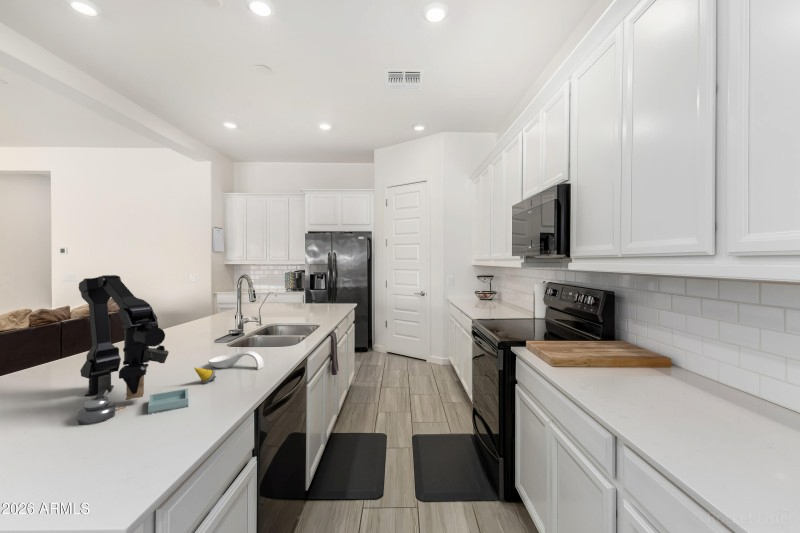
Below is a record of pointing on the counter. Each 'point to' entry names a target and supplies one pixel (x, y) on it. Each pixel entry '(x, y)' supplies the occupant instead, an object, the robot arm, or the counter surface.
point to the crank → (100, 394)
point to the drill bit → (206, 375)
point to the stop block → (139, 391)
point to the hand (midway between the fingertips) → (135, 391)
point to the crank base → (96, 415)
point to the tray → (168, 401)
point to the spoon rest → (235, 360)
